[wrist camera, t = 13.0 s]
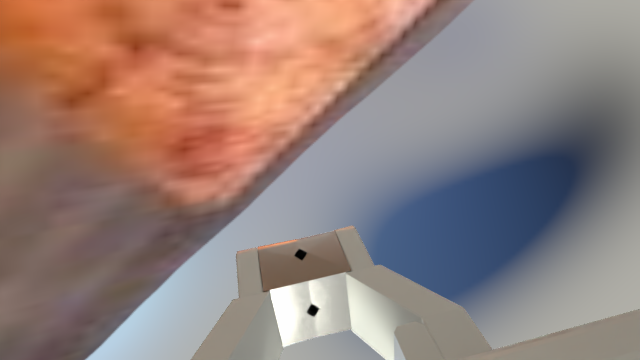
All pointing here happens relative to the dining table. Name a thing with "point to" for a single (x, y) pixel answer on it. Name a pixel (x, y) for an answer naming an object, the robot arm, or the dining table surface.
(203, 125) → the dining table surface
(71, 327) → the dining table surface
